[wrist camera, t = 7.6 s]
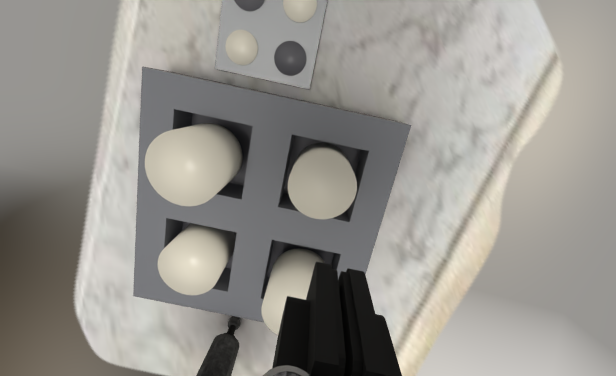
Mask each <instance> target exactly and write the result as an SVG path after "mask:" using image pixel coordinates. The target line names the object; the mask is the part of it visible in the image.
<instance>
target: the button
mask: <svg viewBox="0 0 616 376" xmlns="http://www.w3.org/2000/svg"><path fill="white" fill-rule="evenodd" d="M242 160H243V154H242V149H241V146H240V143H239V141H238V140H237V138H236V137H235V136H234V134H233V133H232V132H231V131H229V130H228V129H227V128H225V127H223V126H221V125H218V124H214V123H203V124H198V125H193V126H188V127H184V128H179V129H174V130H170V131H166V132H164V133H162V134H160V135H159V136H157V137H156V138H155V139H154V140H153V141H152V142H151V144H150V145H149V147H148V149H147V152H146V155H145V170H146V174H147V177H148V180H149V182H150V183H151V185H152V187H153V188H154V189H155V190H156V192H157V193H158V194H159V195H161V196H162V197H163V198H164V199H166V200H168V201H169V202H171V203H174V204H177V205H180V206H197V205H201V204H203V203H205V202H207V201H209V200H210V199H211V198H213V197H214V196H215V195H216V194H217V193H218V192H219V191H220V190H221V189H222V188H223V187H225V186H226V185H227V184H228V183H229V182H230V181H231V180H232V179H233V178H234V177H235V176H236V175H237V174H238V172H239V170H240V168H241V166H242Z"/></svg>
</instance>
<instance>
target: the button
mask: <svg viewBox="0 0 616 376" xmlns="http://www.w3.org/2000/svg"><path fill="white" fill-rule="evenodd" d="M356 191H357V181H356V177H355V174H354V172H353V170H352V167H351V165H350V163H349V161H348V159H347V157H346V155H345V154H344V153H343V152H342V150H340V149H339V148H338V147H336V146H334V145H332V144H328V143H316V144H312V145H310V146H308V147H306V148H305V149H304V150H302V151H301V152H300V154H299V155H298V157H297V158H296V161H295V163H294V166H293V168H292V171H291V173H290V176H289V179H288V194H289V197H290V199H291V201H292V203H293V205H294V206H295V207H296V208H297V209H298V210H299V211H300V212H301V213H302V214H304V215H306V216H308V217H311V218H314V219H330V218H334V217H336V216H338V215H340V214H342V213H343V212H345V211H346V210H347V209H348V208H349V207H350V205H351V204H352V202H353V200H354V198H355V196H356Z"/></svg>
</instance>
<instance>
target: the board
mask: <svg viewBox="0 0 616 376" xmlns="http://www.w3.org/2000/svg"><path fill="white" fill-rule="evenodd" d="M203 123H214V124H218V125H221V126H223V127H225V128H227V129H228V130H229V131H231V132H232V133H233V134H234V136H235V137H236V138H237V140H238V141H239V143H240V146H241V149H242V154H243V160H242V166H241V168H240V170H239V172H238V174H237V175H236V176H235V177H234V178H233V179H232V180H231V181H230V182H229V183H228V184H227V185H226V186H225V187H223V188H222V189H221V190H220V191H219V192H218V193H217V194H216V195H215V196H214V197H213V198H211V199H210V200H209V201H207V202H205V203H203V204H201V205H197V206H180V205H177V204H174V203H171V202H169V201H168V200H166V199H164V198H163V197H162V196H161V195H159V194H158V193H157V192H156V190H155V189H154V188H153V187H152V185H151V183H150V182H149V180H148V177H147V174H146V170H145V155H146V152H147V149H148V147H149V145H150V144H151V142H152V141H153V140H154V139H155V138H156V137H157V136H159V135H160V134H162V133H164V132H166V131H170V130H174V129H179V128H184V127H188V126H193V125H198V124H203ZM410 127H411V125H408V124H405V123H402V122H398V121H394V120H389V119H385V118H380V117H376V116H371V115H366V114H362V113H357V112H353V111H348V110H343V109H339V108H334V107H330V106H325V105H321V104H316V103H311V102H307V101H302V100H298V99H293V98H289V97H284V96H279V95H275V94H270V93H266V92H261V91H256V90H252V89H247V88H243V87H238V86H234V85H229V84H224V83H220V82H215V81H211V80H206V79H202V78H197V77H192V76H188V75H183V74H179V73H174V72H169V71H164V70H158V69H153V68H147V67H142V87H141V113H140V139H139V165H138V190H137V216H136V242H135V268H134V294H133V296H136V297H141V298H146V299H151V300H156V301H161V302H166V303H171V304H176V305H181V306H186V307H191V308H196V309H201V310H206V311H211V312H216V313H221V314H226V315H231V316H236V317H241V318H246V319H251V320H256V321H261V322H264V320H263V317H262V312H261V309H262V303H263V300H264V296H265V293H266V289H267V286H268V282H269V278H270V275H271V271H272V268H273V264H274V262H275V261H276V259H277V258H278V257H279V256H280V255H281V254H282V253H284V252H286V251H288V250H292V249H307V250H310V251H312V252H314V253H316V254H317V255H319V256H320V257H321V258H322V259H323V260H324V262H325V263H326V264H331V265H332V269H334V270H337V273H338V279H339V276H340V273H341V271H343V272H346V271H347V269H348V268H350V269H354V270H359V271H363V272H364V273H365V274H366V271H367V267H368V264H369V261H370V258H371V254H372V251H373V248H374V245H375V241H376V238H377V235H378V232H379V228H380V225H381V222H382V219H383V215H384V212H385V209H386V206H387V202H388V199H389V196H390V193H391V189H392V186H393V183H394V180H395V176H396V173H397V170H398V167H399V163H400V160H401V157H402V153H403V150H404V147H405V144H406V140H407V137H408V134H409V131H410ZM316 143H328V144H332V145H334V146H336V147H338V148H339V149H340V150H342V152H343V153H344V154H345V155H346V157H347V159H348V161H349V163H350V165H351V167H352V170H353V172H354V174H355V177H356V181H357V191H356V196H355V198H354V200H353V202H352V204H351V205H350V207H349V208H348V209H347V210H346V211H345V212H343V213H342V214H340V215H338V216H336V217H334V218H330V219H314V218H311V217H308V216H306V215H304V214H302V213H301V212H300V211H299V210H298V209H297V208H296V207H295V206H294V205H293V203H292V201H291V199H290V197H289V194H288V179H289V176H290V173H291V171H292V168H293V166H294V163H295V161H296V158H297V157H298V155H299V154H300V152H301V151H302V150H304V149H305V148H306V147H308V146H310V145H312V144H316ZM190 223H193V224H198V225H203V226H208V227H213V228H217V229H222V230H227V231H232V232H234V234H235V237H236V241H235V248H234V252H233V254H232V256H231V258H230V260H229V261H228V263H227V265H226V267H225V268H224V270H223V272H222V274H221V275H220V277H219V279H218V281H217V283H216V284H215V286H214V287H213V288H212V289H211V290H209V291H208V292H206V293H203V294H200V295H185V294H181V293H179V292H177V291H175V290H173V289H171V288H170V287H169V286H168V285H167V284H166V283H165V282H164V281H163V279H162V278H161V276H160V274H159V271H158V258H159V255H160V253H161V252H162V250H163V249H164V248H165V247H166V246H167V245H168V244H169V243H170V242H171V241H172V240H173V239H174V238H175V237H176V236H178V235H179V234H180V233H181V232H182V231H183V230H184V229H185V228H186V227H187V226H188V225H189V224H190Z"/></svg>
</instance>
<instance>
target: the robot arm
mask: <svg viewBox="0 0 616 376" xmlns="http://www.w3.org/2000/svg"><path fill="white" fill-rule="evenodd" d="M263 376H402V375H401V371H400V368H399V364H398V361H397V358H396V354H395V351H394V347H393V344H392V340H391V337H390V334H389V330H388V327H387V323H386V320H385V318H384V317H383V316H381V315H377V314H375V311H374V307H373V303H372V300H371V296H370V292H369V288H368V284H367V280H366V276H365V273H364V272H363V271H359V270H354V269H350V268H348V269H347V271H346V272H343V271H341V273H340V276H339V279H338V273H337V270H334V269H332V265H331V264H326V263H321V262H316V263H315V266H314V270H313V274H312V278H311V282H310V286H309V290H308V293H307V297H306V300H304V299H300V298H295V297H290V296H287V298H286V302H285V306H284V311H283V315H282V320H281V324H280V329H279V334H278V340H277V345H276V351H275V356H274V362H273V368H272V369H270V370H269V371H268V372H267V373H266V374H264V375H263Z"/></svg>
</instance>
